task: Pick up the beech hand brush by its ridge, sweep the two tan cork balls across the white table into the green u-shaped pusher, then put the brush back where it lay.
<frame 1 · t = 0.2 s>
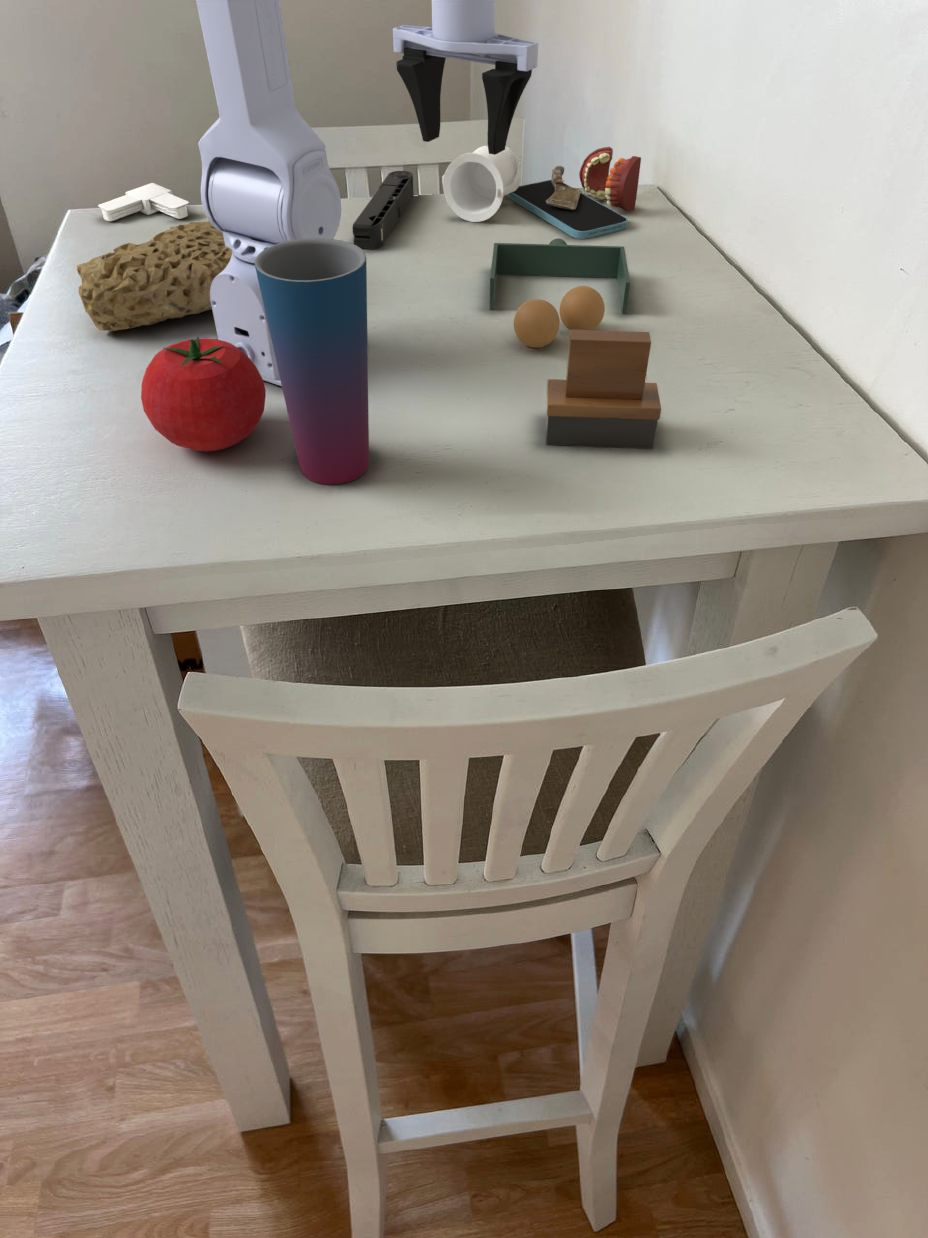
hand: (463, 145, 87), 10 cm above the table, tool pointing down, fingers open, 7 cm apart
sponge: (199, 304, 85), on the table
dentures: (585, 171, 105), point 3 cm above the table
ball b: (536, 323, 77), point 2 cm above the table
ball a: (581, 309, 79), point 2 cm above the table
tomato: (214, 440, 68), on the table
cup: (335, 467, 65), on the table
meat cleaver: (581, 190, 104), point 1 cm above the table, touching smartphone
green u-shaped pusher: (557, 292, 86), on the table
smartphone: (606, 232, 97), on the table, touching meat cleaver
brush: (598, 434, 68), on the table
tablet stand: (371, 206, 100), point 1 cm above the table
downlight: (471, 189, 97), point 4 cm above the table
corner connector: (143, 199, 100), point 2 cm above the table
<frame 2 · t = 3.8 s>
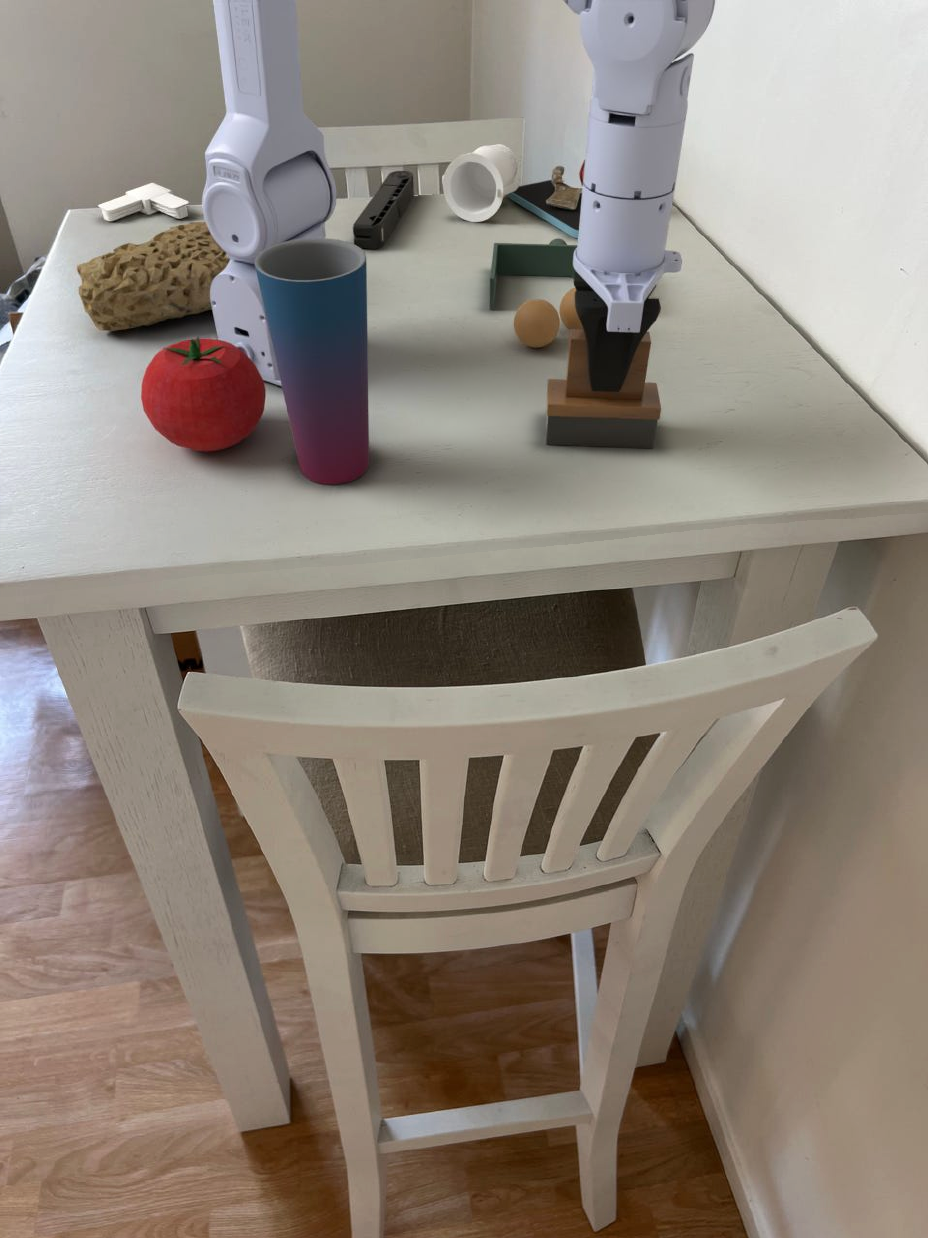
hand: (604, 381, 65), 4 cm above the table, tool pointing down, fingers closed on brush
brush: (598, 434, 68), on the table, touching gripper
everything else where it was.
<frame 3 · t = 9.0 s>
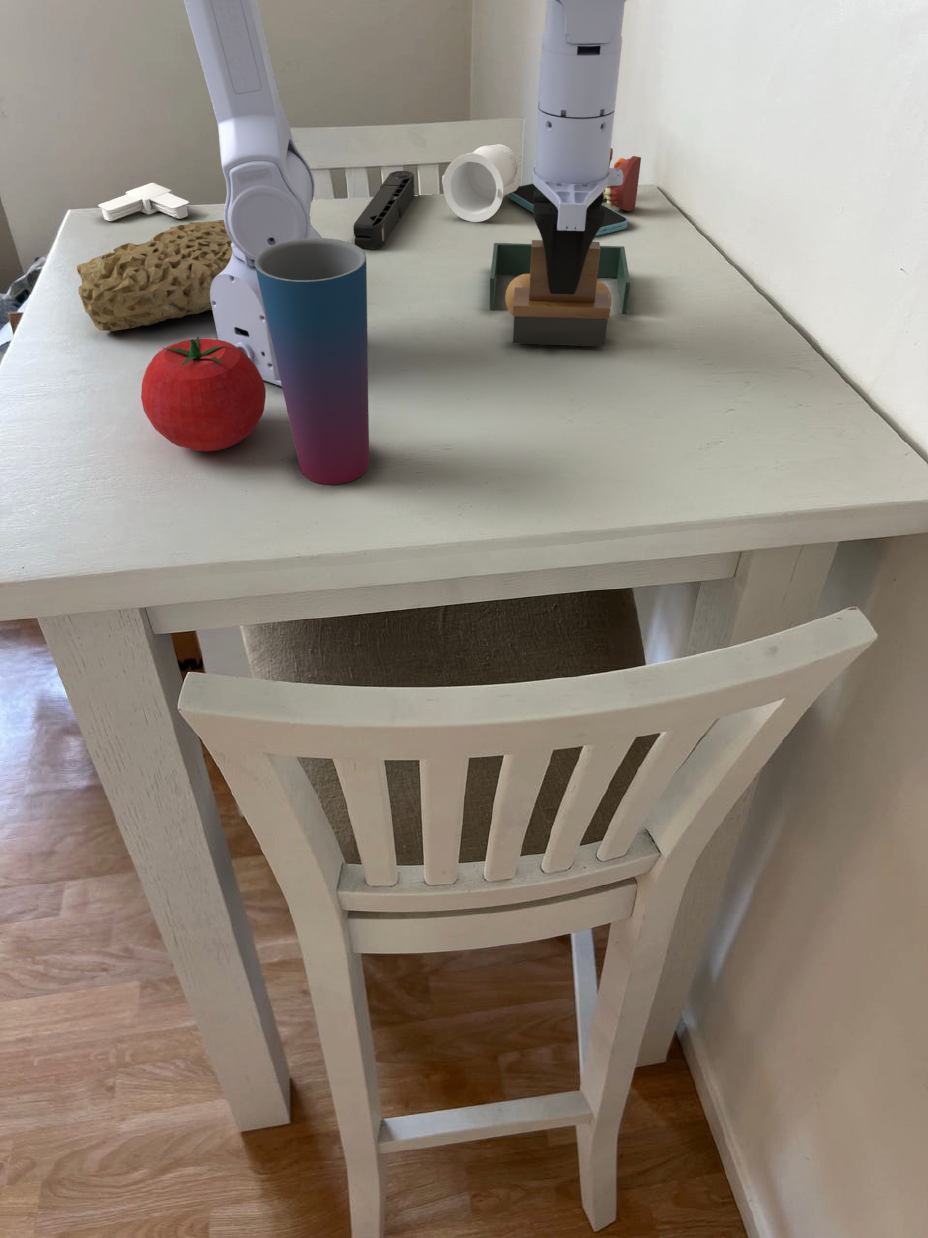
hand: (562, 287, 76), 5 cm above the table, tool pointing down, fingers closed on brush
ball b: (527, 297, 81), point 2 cm above the table, tilted 150°
ball a: (588, 301, 80), point 2 cm above the table, tilted 53°
brush: (558, 335, 79), on the table, touching gripper
everything else where it was.
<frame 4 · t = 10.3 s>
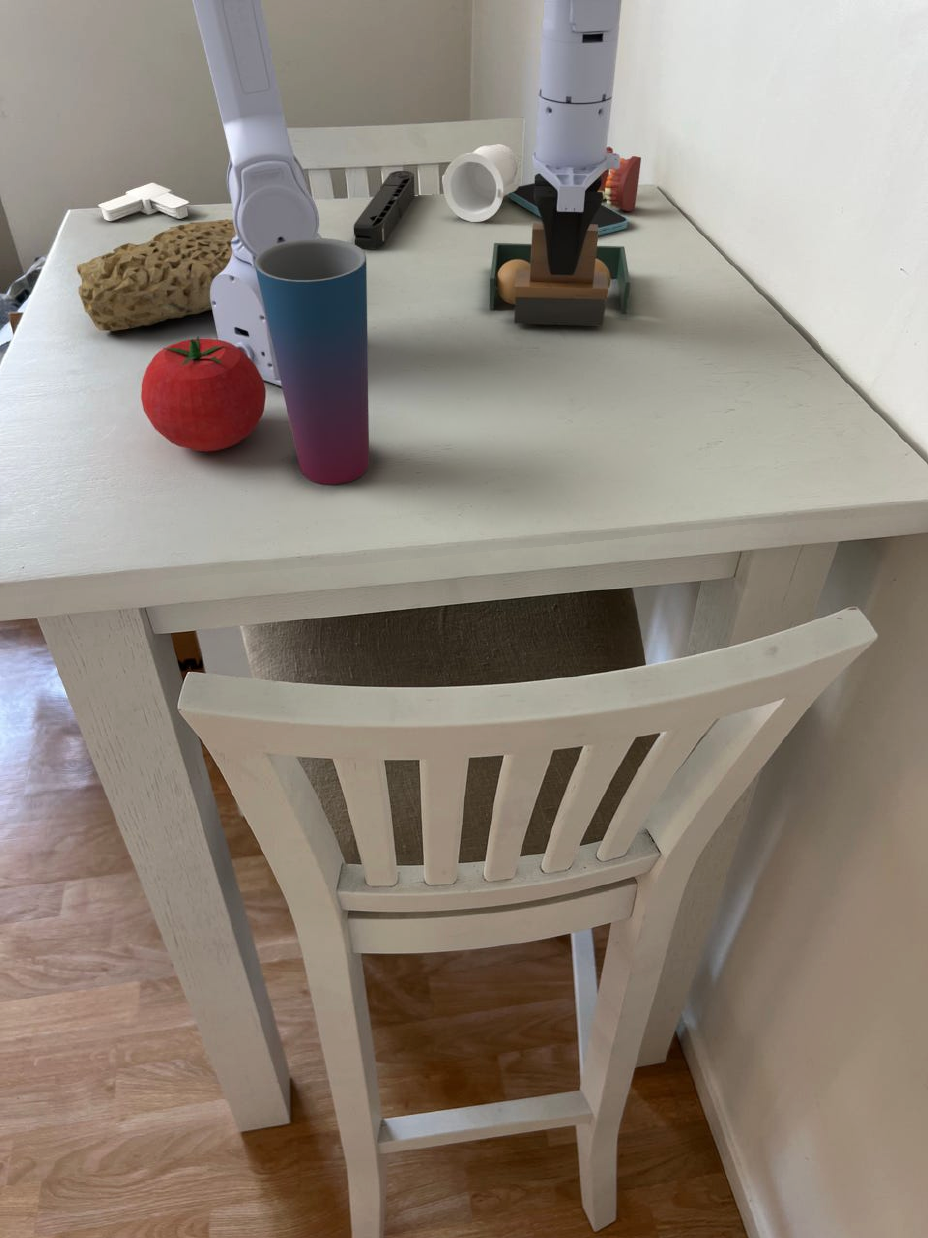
hand: (561, 268, 78), 5 cm above the table, tool pointing down, fingers closed on brush
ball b: (516, 282, 83), point 2 cm above the table, tilted 107°
ball a: (588, 280, 84), point 2 cm above the table, tilted 162°
brush: (558, 316, 81), on the table, touching gripper
everything else where it was.
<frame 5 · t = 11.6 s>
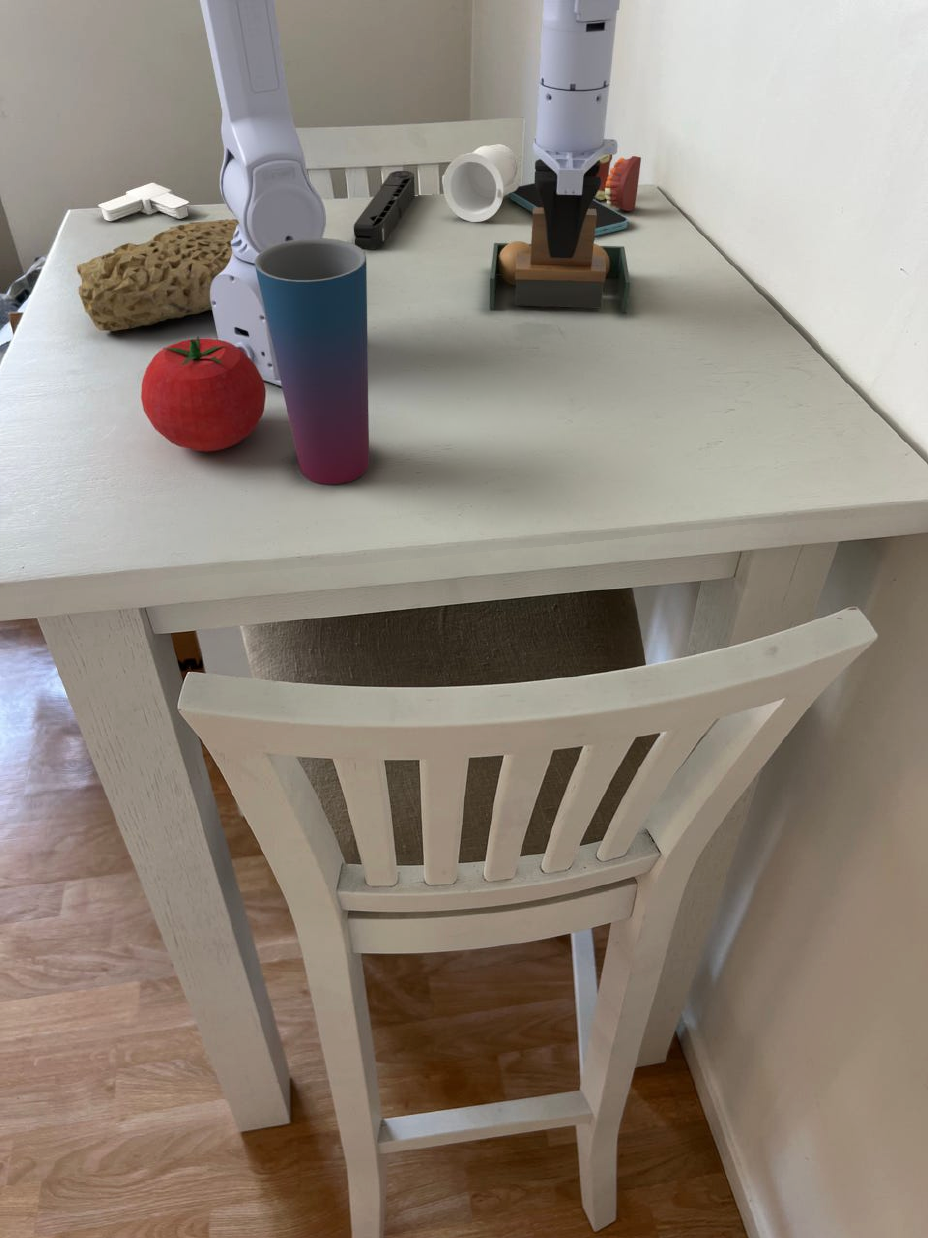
hand: (561, 251, 81), 5 cm above the table, tool pointing down, fingers closed on brush
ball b: (517, 263, 87), point 2 cm above the table, tilted 39°
ball a: (588, 265, 86), point 2 cm above the table, tilted 74°
brush: (557, 298, 84), on the table, touching gripper
everything else where it was.
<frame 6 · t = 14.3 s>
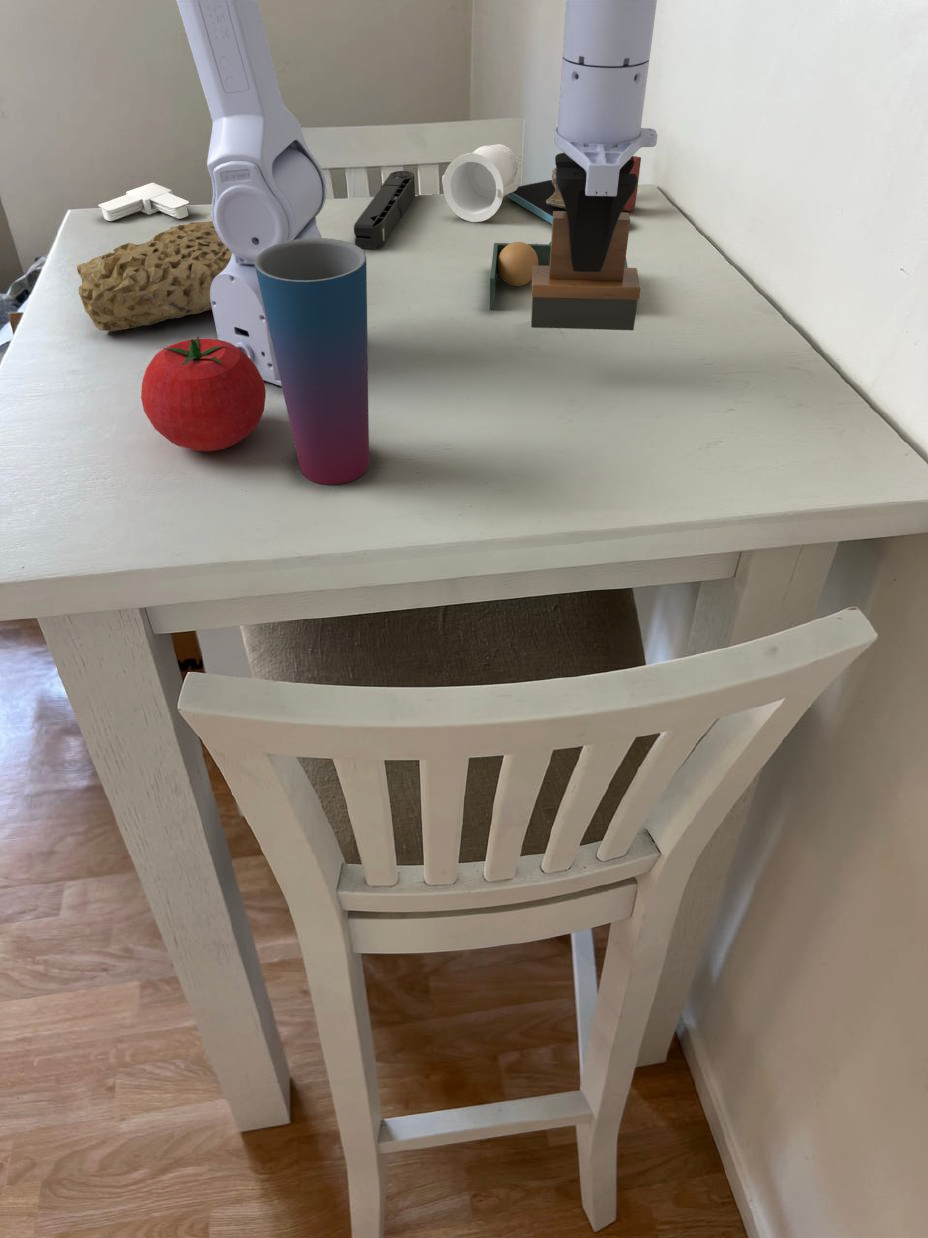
hand: (586, 264, 68), 9 cm above the table, tool pointing down, fingers closed on brush
ball a: (588, 267, 86), point 2 cm above the table, tilted 86°
brush: (581, 319, 71), point 5 cm above the table, touching gripper
everything else where it was.
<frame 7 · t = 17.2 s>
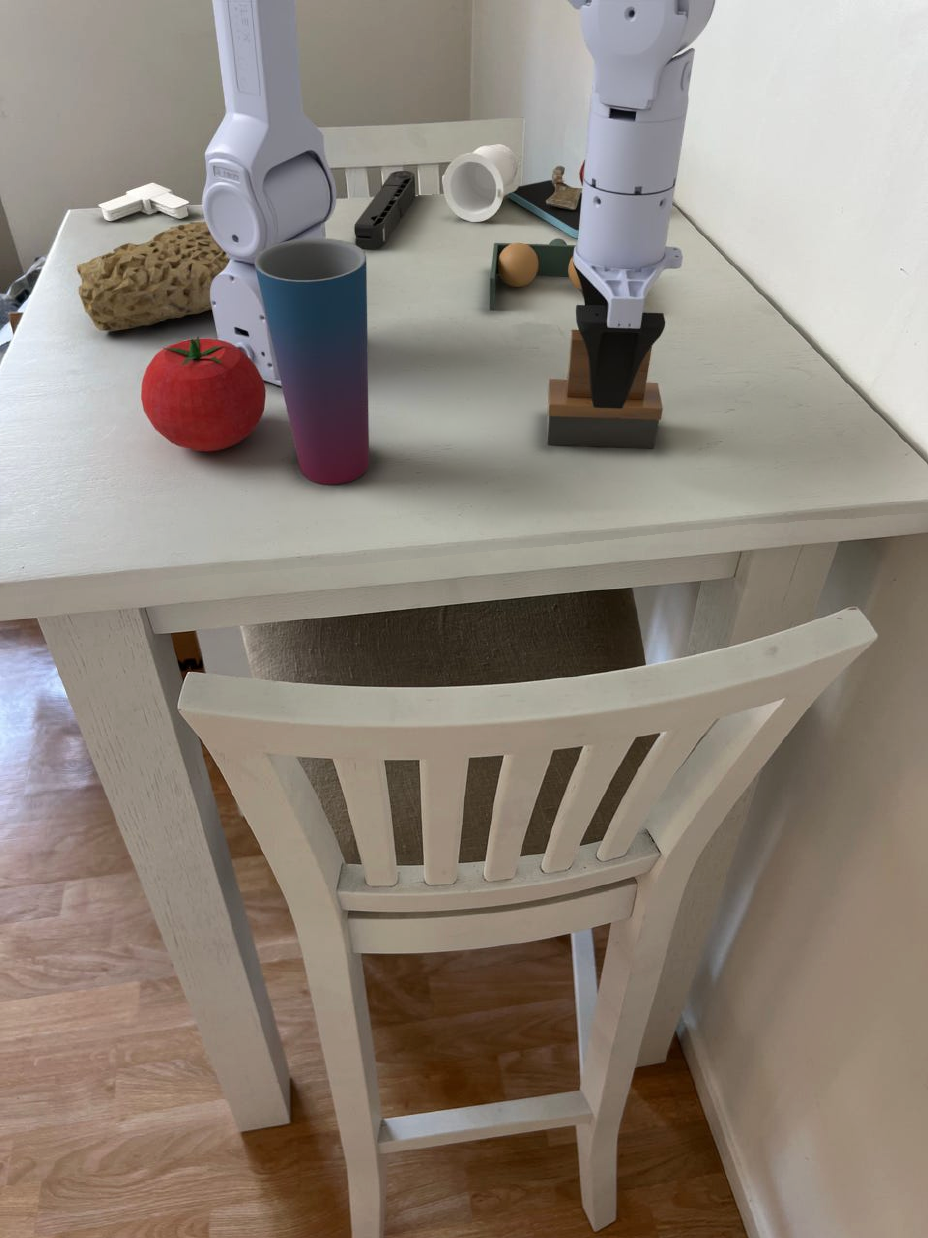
hand: (605, 378, 65), 5 cm above the table, tool pointing down, fingers open, 7 cm apart
ball a: (589, 269, 86), point 2 cm above the table, tilted 99°
brush: (599, 434, 68), on the table
everything else where it was.
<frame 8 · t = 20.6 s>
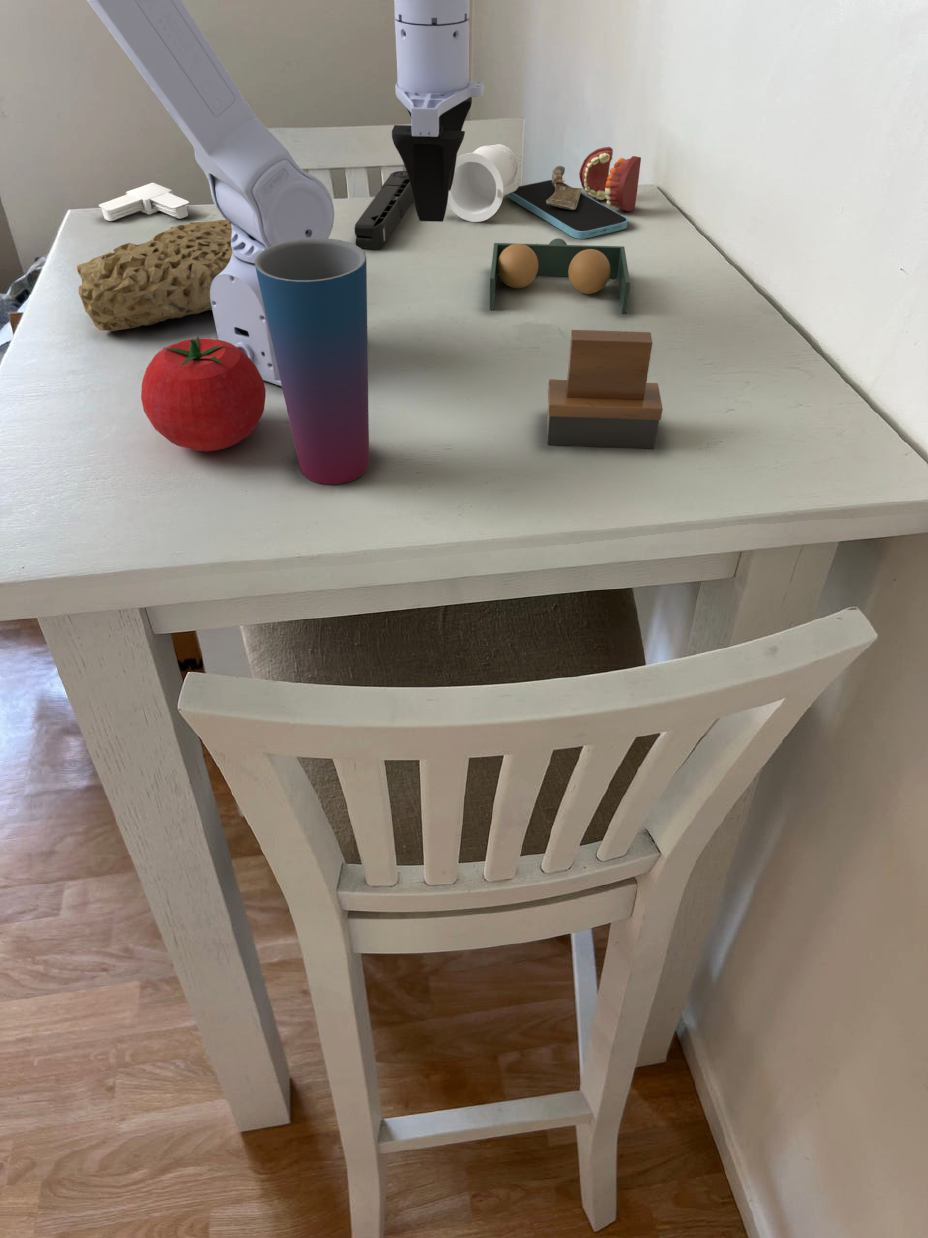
hand: (435, 203, 77), 9 cm above the table, tool pointing down, fingers open, 7 cm apart
ball a: (589, 271, 85), point 2 cm above the table, tilted 114°
everything else where it was.
at the end: ball a inside the target area on the green u-shaped pusher (2.9 cm from its centre), point 2.0 cm above the green u-shaped pusher's base; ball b inside the target area on the green u-shaped pusher (4.2 cm from its centre), point 2.0 cm above the green u-shaped pusher's base; brush inside the target area (0.1 cm from its centre), on the table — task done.
